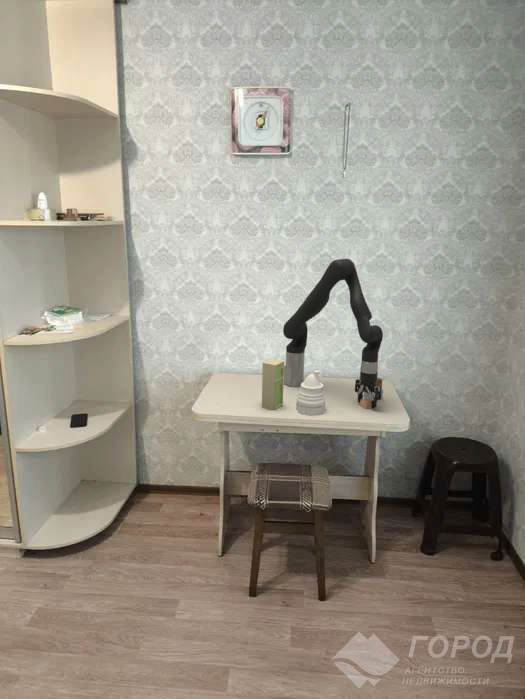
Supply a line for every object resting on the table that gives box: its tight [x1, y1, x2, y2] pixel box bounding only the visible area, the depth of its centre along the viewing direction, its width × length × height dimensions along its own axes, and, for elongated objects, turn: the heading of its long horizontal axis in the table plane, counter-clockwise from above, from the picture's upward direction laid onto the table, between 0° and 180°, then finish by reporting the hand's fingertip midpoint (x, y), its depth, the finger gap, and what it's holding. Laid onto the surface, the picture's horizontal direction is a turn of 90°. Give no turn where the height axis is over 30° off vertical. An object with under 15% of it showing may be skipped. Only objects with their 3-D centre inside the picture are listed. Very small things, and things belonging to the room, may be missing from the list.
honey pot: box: [295, 370, 327, 416], centre depth 232 cm, size 13×13×18 cm
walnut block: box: [376, 376, 383, 390], centre depth 246 cm, size 5×5×5 cm
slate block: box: [363, 388, 384, 402], centre depth 247 cm, size 6×6×5 cm
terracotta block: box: [359, 398, 372, 410], centre depth 237 cm, size 4×4×4 cm
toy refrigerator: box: [261, 358, 285, 411], centre depth 235 cm, size 8×7×21 cm
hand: (366, 405), depth 237 cm, fingers open, 8 cm apart
